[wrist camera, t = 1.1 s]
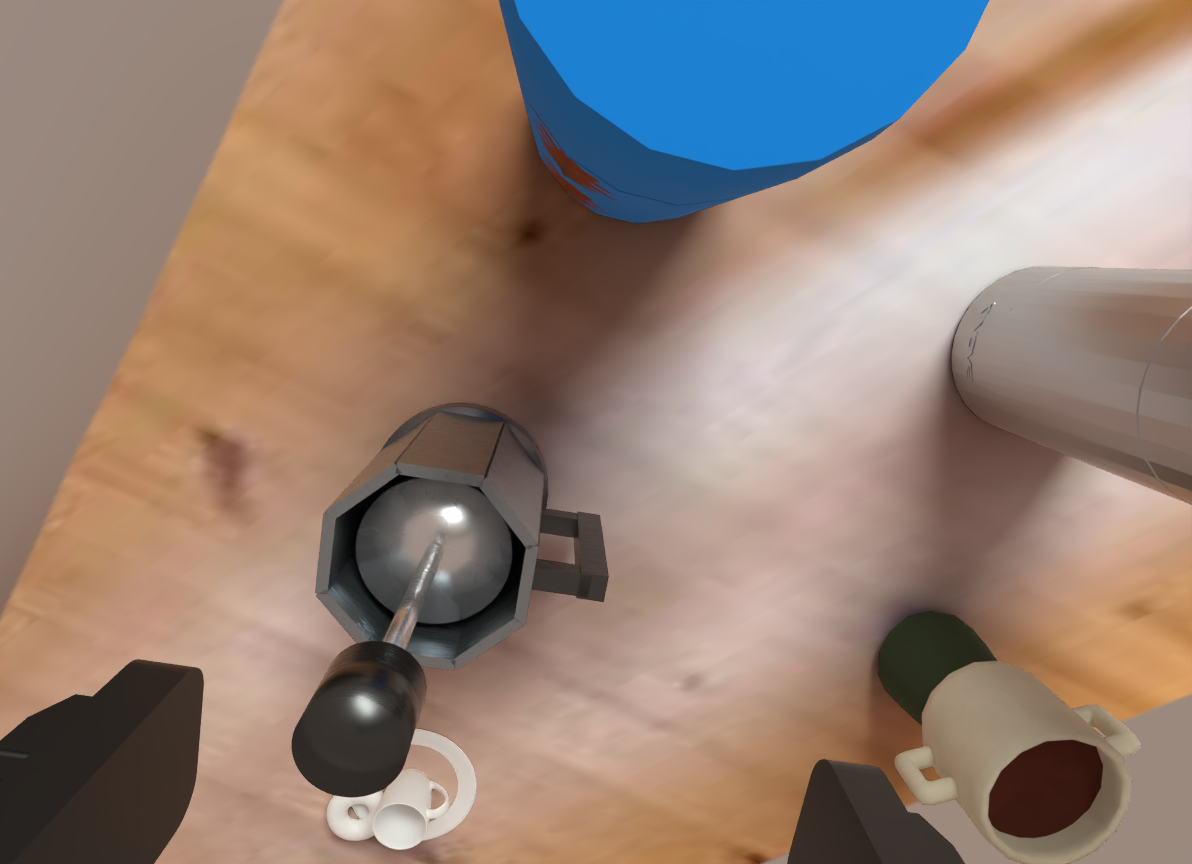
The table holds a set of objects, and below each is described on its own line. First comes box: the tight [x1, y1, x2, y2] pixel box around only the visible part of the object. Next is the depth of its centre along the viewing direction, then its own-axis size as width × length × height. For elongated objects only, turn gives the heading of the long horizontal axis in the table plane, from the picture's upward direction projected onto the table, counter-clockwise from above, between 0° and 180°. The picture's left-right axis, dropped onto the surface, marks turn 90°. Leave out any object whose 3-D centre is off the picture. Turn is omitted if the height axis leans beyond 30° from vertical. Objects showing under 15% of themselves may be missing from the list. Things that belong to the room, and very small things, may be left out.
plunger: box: [292, 476, 513, 798], centre depth 27 cm, size 7×7×14 cm
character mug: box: [878, 611, 1141, 864], centre depth 40 cm, size 11×7×13 cm, turn 105°
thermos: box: [499, 0, 989, 223], centre depth 27 cm, size 11×11×25 cm
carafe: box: [315, 403, 609, 671], centre depth 37 cm, size 12×10×12 cm
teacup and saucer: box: [327, 729, 477, 850], centre depth 46 cm, size 9×8×4 cm
